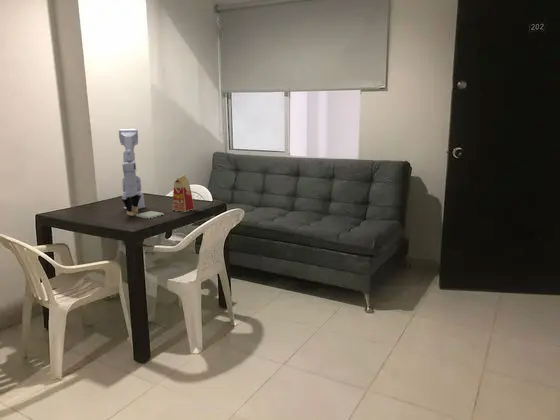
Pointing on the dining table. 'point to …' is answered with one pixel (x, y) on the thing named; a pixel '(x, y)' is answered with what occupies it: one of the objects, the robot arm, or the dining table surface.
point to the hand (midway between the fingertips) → (132, 210)
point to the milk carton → (182, 195)
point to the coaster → (149, 214)
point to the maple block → (133, 211)
